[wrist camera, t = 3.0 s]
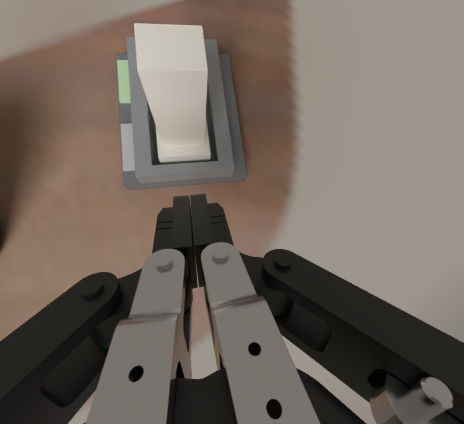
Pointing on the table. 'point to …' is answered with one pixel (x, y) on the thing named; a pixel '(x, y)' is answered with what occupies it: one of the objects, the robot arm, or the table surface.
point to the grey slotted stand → (144, 128)
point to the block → (175, 89)
